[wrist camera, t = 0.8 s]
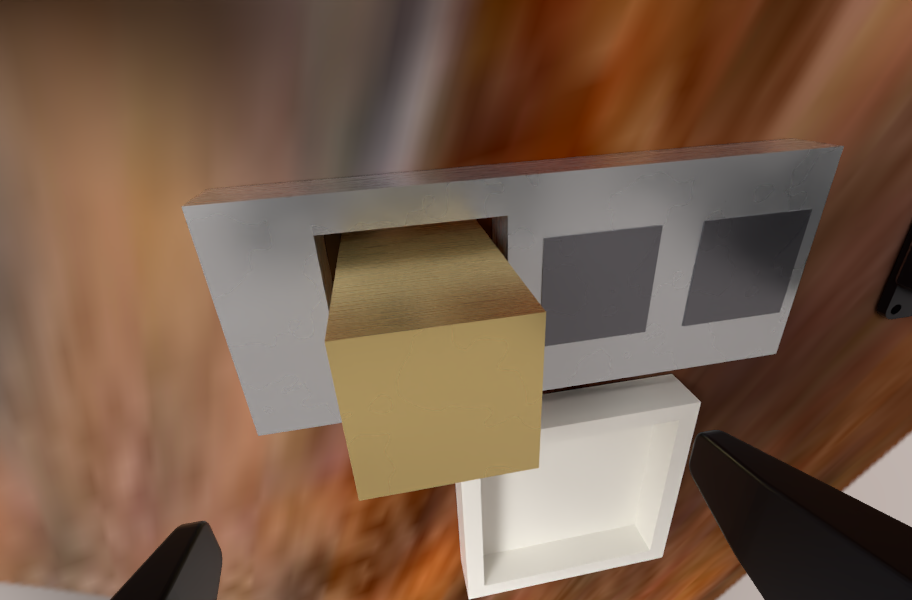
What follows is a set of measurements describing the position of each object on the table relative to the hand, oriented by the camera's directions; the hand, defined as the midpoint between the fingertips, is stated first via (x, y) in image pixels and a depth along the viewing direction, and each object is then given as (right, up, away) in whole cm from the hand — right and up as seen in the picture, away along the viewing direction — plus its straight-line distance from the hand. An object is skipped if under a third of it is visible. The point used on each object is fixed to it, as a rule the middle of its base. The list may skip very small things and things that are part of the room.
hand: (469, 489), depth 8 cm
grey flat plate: (+2, +5, +8) cm, 10 cm away
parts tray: (+5, -5, +14) cm, 15 cm away
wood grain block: (-2, +4, +8) cm, 9 cm away
